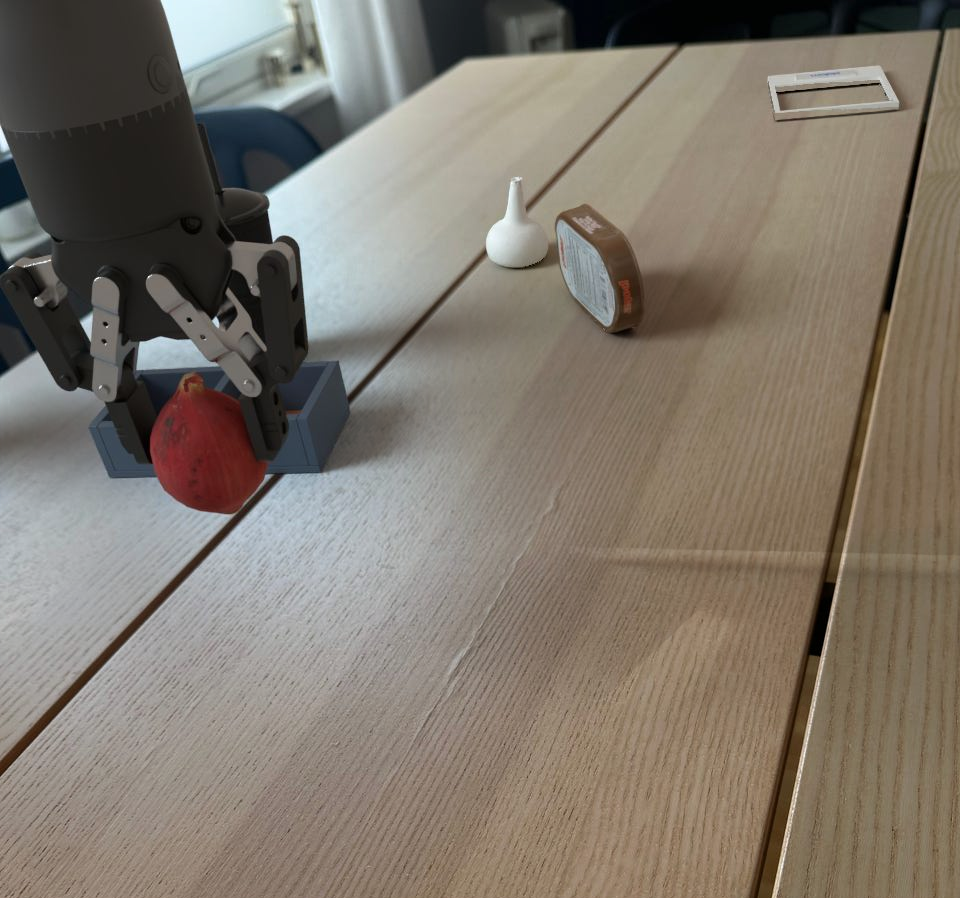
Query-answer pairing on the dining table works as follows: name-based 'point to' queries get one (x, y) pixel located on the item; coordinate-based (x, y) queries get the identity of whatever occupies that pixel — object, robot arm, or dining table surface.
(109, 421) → the compartment box
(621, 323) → the tin
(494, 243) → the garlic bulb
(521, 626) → the dining table surface
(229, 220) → the drinking cup
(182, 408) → the pomegranate
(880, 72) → the photo frame
